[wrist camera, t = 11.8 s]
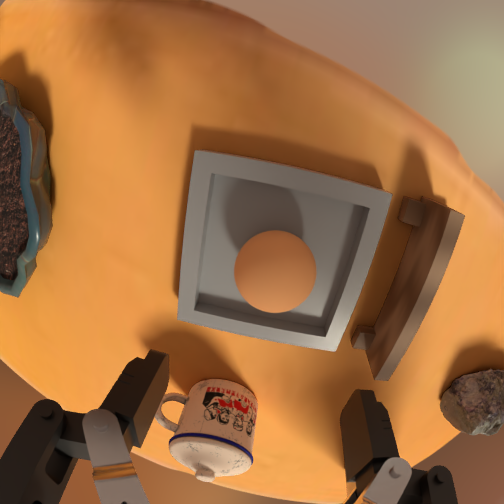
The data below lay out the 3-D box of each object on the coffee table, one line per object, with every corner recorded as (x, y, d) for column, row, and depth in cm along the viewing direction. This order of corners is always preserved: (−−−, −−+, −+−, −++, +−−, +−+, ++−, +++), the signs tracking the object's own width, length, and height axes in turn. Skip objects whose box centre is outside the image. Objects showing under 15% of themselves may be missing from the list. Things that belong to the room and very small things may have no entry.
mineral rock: (510, 370, 27) (536, 411, 18) (465, 414, 31) (483, 458, 22) (484, 345, 26) (519, 396, 17) (429, 399, 30) (450, 454, 21)
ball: (320, 278, 24) (328, 317, 19) (253, 295, 25) (244, 336, 20) (302, 212, 22) (308, 235, 17) (230, 232, 23) (213, 261, 18)
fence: (389, 349, 27) (402, 381, 22) (349, 344, 27) (357, 378, 22) (449, 206, 21) (479, 221, 16) (405, 190, 21) (432, 203, 16)
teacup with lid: (274, 396, 31) (267, 481, 20) (237, 427, 34) (223, 498, 23) (183, 351, 30) (146, 435, 19) (158, 389, 33) (126, 459, 22)
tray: (332, 338, 27) (335, 351, 25) (184, 307, 27) (177, 319, 25) (383, 189, 21) (392, 194, 19) (202, 149, 22) (194, 150, 20)
